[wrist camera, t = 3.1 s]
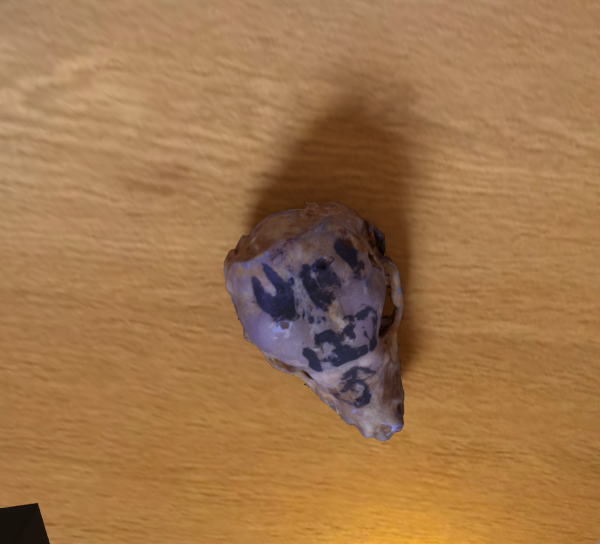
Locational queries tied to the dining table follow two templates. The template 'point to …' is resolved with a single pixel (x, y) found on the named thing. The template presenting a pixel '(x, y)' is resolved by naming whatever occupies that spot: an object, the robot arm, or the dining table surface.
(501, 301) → the dining table surface
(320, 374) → the skull
